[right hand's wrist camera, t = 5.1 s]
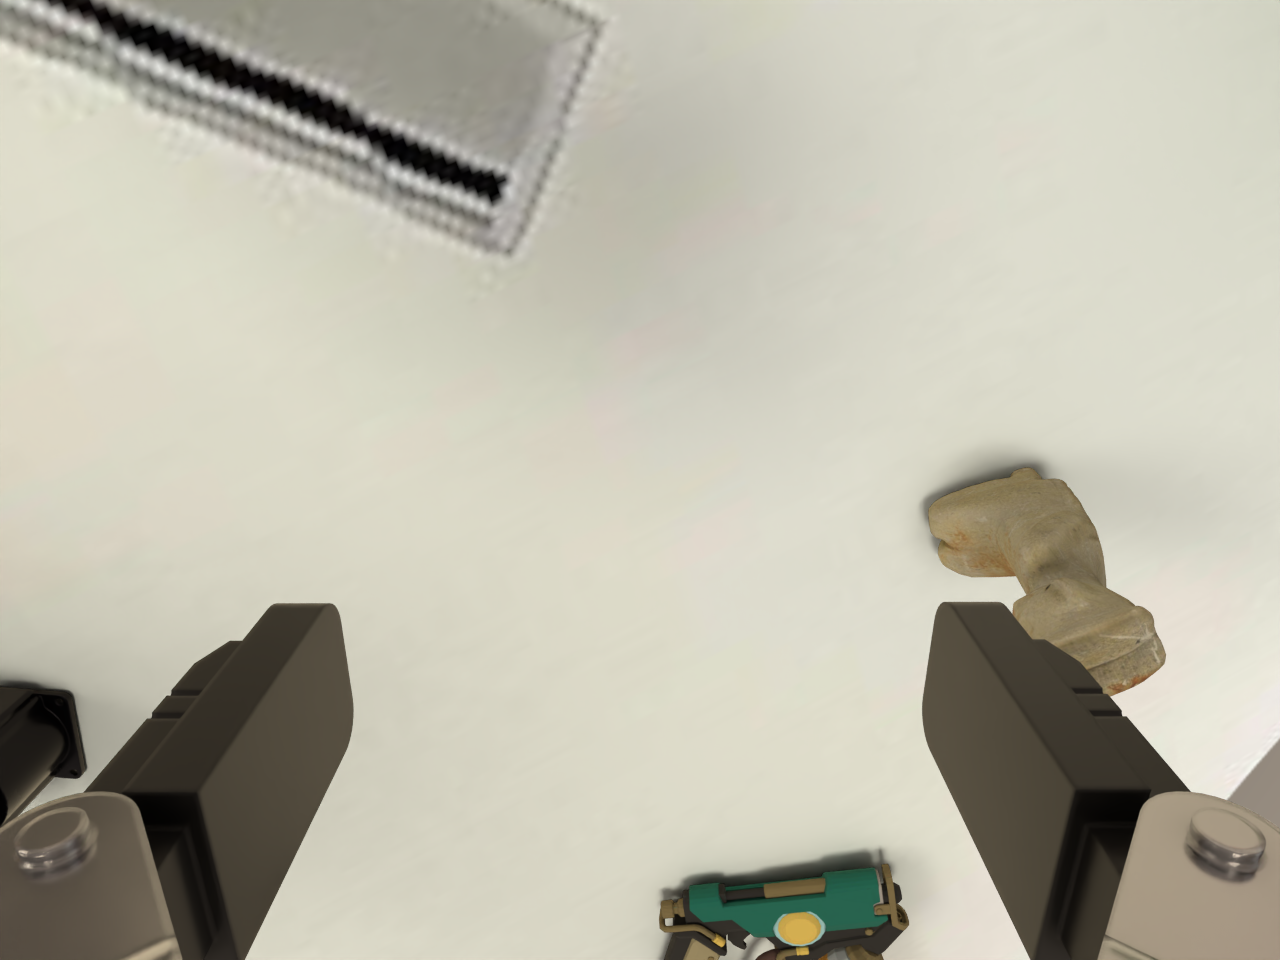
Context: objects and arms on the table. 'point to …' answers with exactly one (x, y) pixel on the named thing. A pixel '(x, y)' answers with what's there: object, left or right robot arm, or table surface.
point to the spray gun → (790, 917)
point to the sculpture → (1049, 572)
